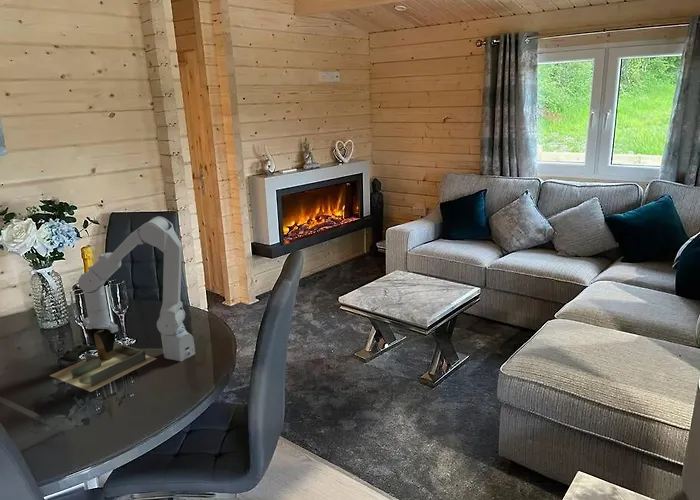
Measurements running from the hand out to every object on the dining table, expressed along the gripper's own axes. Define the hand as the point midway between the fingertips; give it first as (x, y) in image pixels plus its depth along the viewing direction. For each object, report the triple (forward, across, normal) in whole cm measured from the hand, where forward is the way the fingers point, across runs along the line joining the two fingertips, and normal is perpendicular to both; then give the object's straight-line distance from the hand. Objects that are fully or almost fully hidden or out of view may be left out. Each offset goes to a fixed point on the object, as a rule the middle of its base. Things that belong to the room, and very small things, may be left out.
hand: (104, 349), depth 162 cm
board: (+4, +5, -4) cm, 7 cm away
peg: (+2, 0, 0) cm, 2 cm away
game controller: (+4, -11, -2) cm, 12 cm away
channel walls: (+3, +5, -4) cm, 7 cm away
